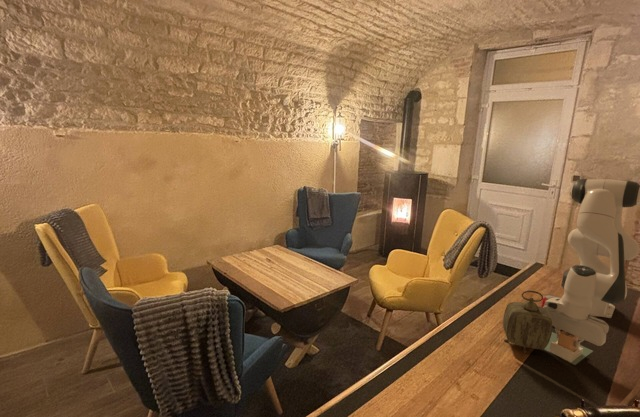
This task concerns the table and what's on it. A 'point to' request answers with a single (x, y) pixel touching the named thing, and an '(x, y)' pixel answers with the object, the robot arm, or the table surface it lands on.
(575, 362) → the board
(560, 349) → the frame
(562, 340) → the plug
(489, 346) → the table surface
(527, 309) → the tabletop clock
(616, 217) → the robot arm
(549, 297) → the soda can
